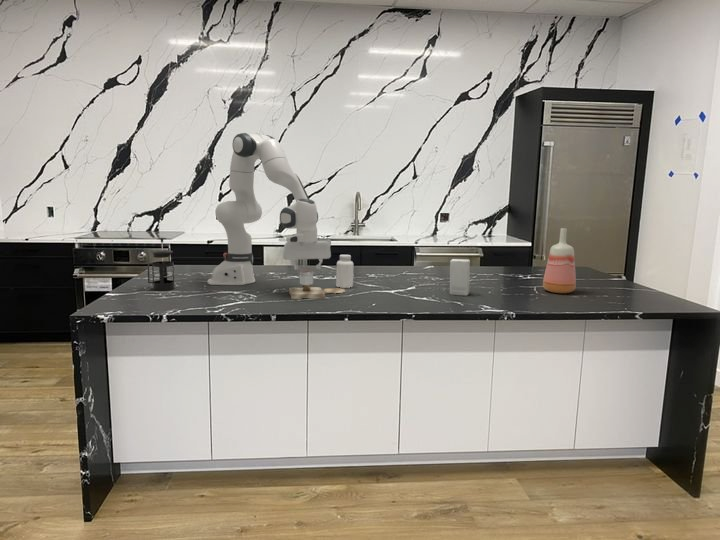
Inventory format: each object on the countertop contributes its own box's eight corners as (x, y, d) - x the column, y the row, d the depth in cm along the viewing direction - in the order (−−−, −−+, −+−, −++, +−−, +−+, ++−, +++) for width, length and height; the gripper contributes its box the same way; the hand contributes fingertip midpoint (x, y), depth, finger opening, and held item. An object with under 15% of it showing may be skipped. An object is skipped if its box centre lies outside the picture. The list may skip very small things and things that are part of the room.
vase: (561, 288, 265) (566, 226, 260) (582, 294, 252) (587, 229, 247) (535, 289, 260) (540, 227, 256) (555, 295, 247) (560, 229, 242)
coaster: (324, 294, 241) (324, 292, 241) (321, 289, 251) (321, 288, 250) (346, 293, 243) (346, 292, 243) (342, 289, 253) (342, 287, 253)
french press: (177, 286, 251) (176, 236, 248) (174, 290, 242) (173, 238, 238) (150, 287, 249) (148, 236, 245) (146, 291, 240) (144, 239, 236)
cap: (300, 285, 234) (300, 272, 233) (299, 282, 240) (299, 270, 239) (313, 284, 235) (313, 272, 234) (312, 282, 241) (312, 269, 240)
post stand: (291, 298, 230) (291, 277, 229) (288, 292, 244) (288, 272, 242) (324, 298, 233) (324, 277, 232) (320, 291, 246) (320, 271, 245)
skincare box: (469, 293, 248) (471, 259, 246) (467, 296, 242) (469, 261, 240) (450, 292, 251) (452, 258, 249) (448, 294, 245) (449, 260, 242)
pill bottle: (351, 288, 254) (351, 256, 252) (334, 287, 256) (334, 255, 253) (354, 285, 262) (355, 254, 260) (338, 284, 263) (338, 253, 261)
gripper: (329, 236, 239) (330, 267, 241) (282, 237, 235) (283, 269, 237) (332, 237, 233) (332, 269, 235) (283, 238, 229) (284, 271, 231)
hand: (307, 269), depth 236 cm, fingers open, 8 cm apart
